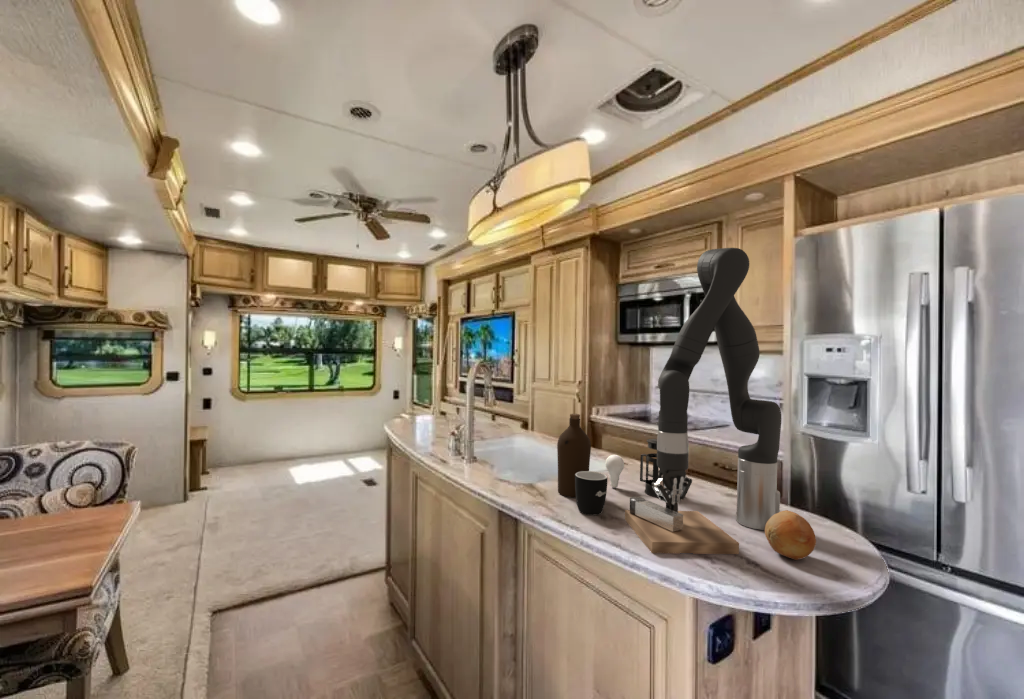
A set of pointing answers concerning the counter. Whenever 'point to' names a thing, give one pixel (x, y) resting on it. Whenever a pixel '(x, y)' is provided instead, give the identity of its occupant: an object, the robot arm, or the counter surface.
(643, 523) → the wooden cutting board
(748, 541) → the counter surface
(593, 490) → the mug
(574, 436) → the olive oil
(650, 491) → the french press
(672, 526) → the hinged leg
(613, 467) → the lightbulb
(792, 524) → the onion
